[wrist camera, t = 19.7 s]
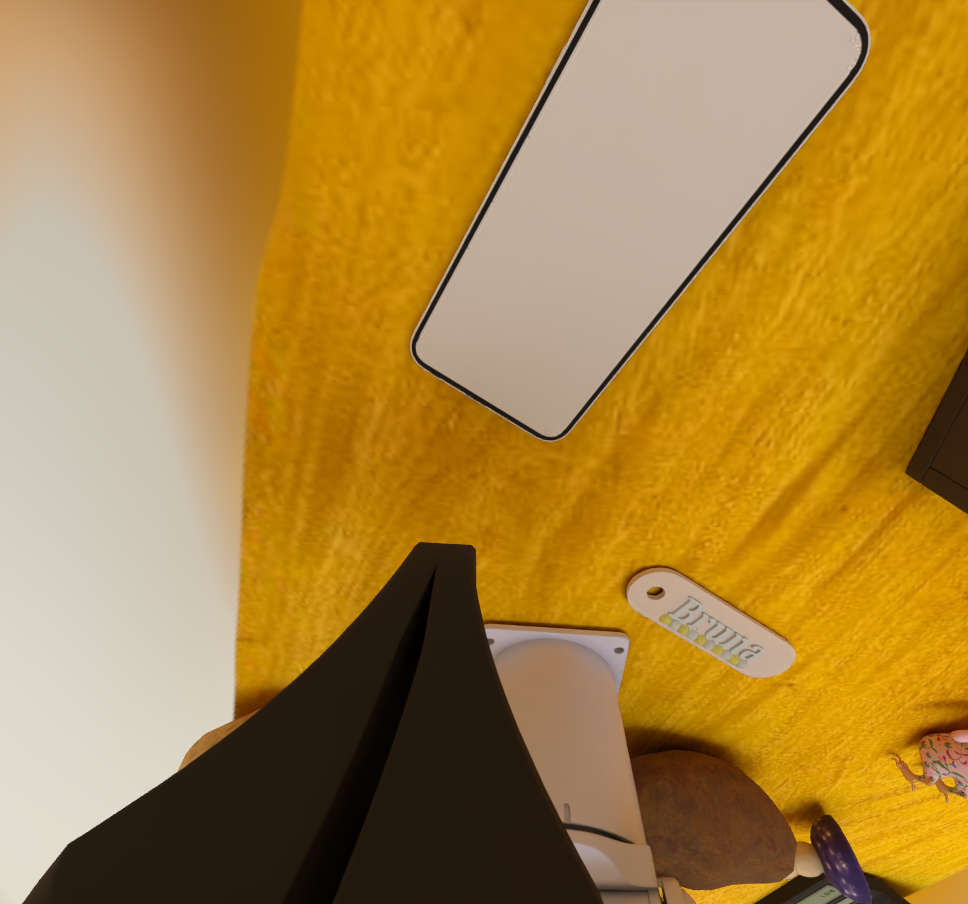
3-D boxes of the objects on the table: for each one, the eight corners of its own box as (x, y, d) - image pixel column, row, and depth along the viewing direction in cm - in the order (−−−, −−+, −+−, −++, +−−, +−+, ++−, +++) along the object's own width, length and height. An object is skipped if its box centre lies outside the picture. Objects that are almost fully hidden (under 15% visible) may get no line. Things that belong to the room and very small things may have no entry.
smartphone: (399, 355, 17) (676, -168, 10) (404, 351, 18) (668, -147, 11) (556, 451, 18) (889, 40, 12) (555, 443, 19) (872, 49, 12)
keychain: (615, 603, 22) (658, 566, 21) (613, 594, 22) (655, 557, 21) (764, 690, 24) (812, 661, 23) (759, 680, 24) (805, 651, 23)
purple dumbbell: (883, 933, 26) (605, 940, 30) (838, 856, 31) (601, 870, 35) (862, 859, 26) (585, 875, 30) (820, 792, 31) (584, 814, 34)
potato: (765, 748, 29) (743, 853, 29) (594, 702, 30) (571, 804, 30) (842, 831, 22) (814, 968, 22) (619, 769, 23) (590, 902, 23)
